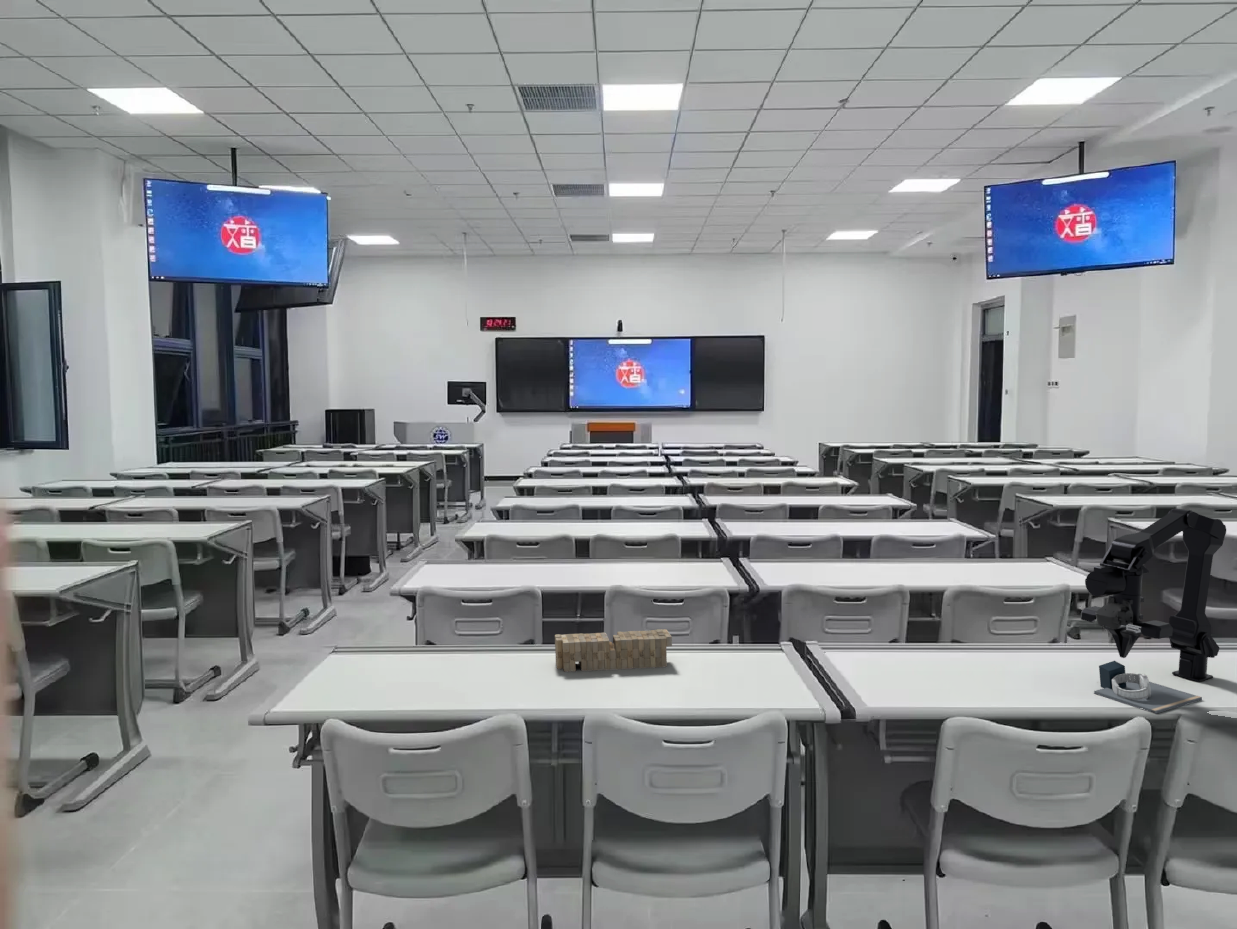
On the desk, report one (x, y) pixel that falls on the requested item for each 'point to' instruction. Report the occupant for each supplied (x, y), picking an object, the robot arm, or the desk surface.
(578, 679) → the desk surface
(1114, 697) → the mat
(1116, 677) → the watch
